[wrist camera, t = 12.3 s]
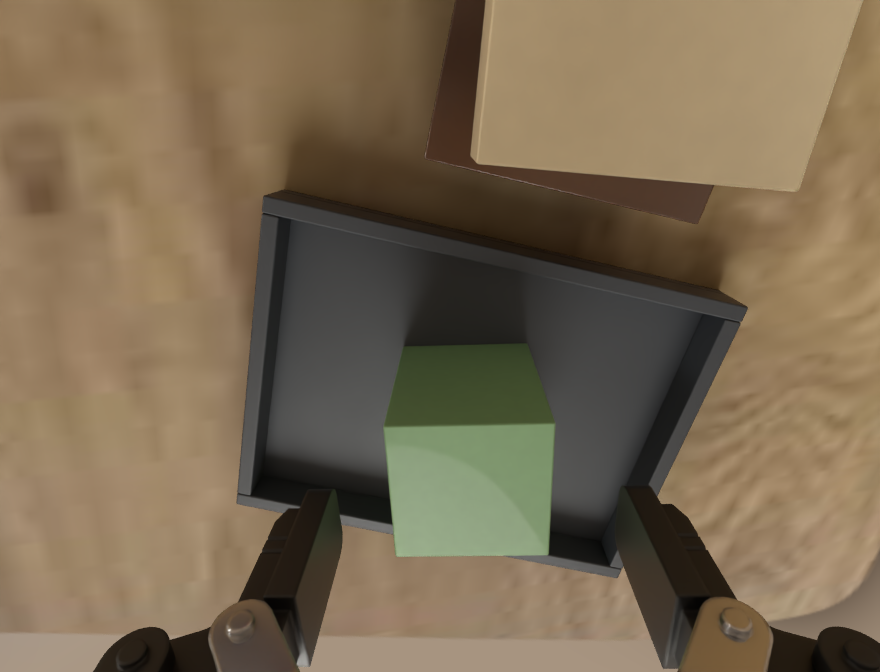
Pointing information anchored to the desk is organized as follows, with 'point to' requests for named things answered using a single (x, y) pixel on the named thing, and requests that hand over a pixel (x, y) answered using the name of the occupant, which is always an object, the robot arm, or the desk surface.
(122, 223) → the desk surface
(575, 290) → the tray
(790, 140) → the cream block
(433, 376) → the green block
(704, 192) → the walnut block
